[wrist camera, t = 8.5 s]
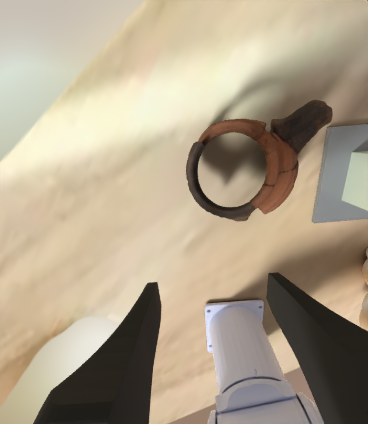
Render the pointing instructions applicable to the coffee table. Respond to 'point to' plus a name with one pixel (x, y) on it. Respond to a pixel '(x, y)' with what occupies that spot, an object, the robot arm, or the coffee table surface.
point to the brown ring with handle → (274, 153)
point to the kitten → (367, 311)
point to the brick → (357, 181)
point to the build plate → (338, 174)
